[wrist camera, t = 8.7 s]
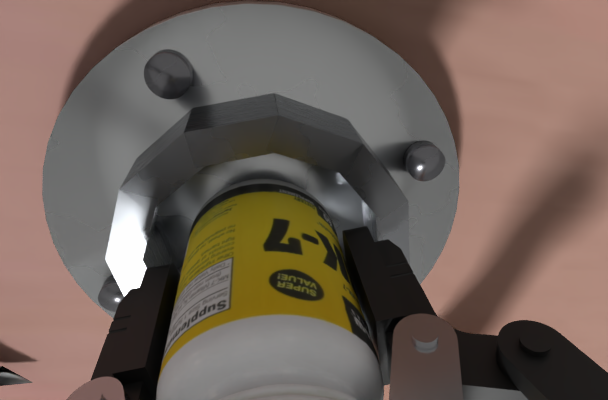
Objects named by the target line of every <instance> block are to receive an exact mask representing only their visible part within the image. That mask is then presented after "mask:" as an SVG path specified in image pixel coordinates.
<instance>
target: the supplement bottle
mask: <svg viewBox="0 0 608 400" xmlns="http://www.w3.org/2000/svg"><path fill="white" fill-rule="evenodd" d="M383 396H384V384H383V377H382V372H381V369H380V364H379V360H378V356H377V353H376V350H375V348H374V345H373V342H372V340H371V337H370V334H369V329H368V326H367V323H366V321H365V318H364V315H363V312H362V309H361V307H360V304H359V301H358V297H357V294H356V291H355V287H354V285H353V281H352V278H351V275H350V273H349V270H348V267H347V264H346V261H345V258H344V255H343V252H342V249H341V246H340V244H339V240H338V236H337V233H336V230H335V227H334V225H333V222H332V220H331V218H330V215H329V214H328V212H327V210H326V209H325V207H324V206H323V205H322V204H321V203H320V201H319V200H318V199H316V198H315V197H314V196H313V195H312V194H310V193H309V192H307V191H306V190H304V189H302V188H300V187H298V186H296V185H294V184H291V183H288V182H284V181H281V180H275V179H252V180H247V181H242V182H239V183H236V184H233V185H231V186H228V187H226V188H224V189H223V190H221V191H219V192H218V193H216V194H215V195H214V196H212V197H211V198H210V199H209V200H208V201H207V202H206V203H205V204H204V205H203V206H202V208H201V209H200V210H199V212H198V213H197V215H196V217H195V219H194V221H193V224H192V226H191V230H190V234H189V239H188V244H187V248H186V252H185V257H184V261H183V267H182V271H181V276H180V281H179V285H178V290H177V295H176V299H175V304H174V309H173V313H172V319H171V323H170V328H169V332H168V337H167V342H166V347H165V352H164V356H163V360H162V365H161V371H160V375H159V379H158V385H157V393H156V400H383Z"/></svg>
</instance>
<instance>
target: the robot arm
mask: <svg viewBox="0 0 608 400" xmlns="http://www.w3.org/2000/svg"><path fill="white" fill-rule="evenodd" d="M342 235H343V243H344V252H345V260H346V264H347V267H348V270H349V273H350V275H351V278H352V281H353V285H354V287H355V291H356V294H357V297H358V301H359V304H360V307H361V309H362V312H363V315H364V318H365V321H366V323H367V326H368V329H369V334H370V337H371V340H372V342H373V345H374V348H375V350H376V353H377V356H378V360H379V364H380V369H381V372H382V377H383V384H384V385H388V384H390V392H389V400H608V373H607V372H606V371H605V370H604V369H602V368H601V367H600V366H599V365H598V364H596V363H595V362H594V361H593V360H592V359H590V358H589V357H588V356H587V355H586V354H584V353H583V352H582V351H581V350H579V349H578V348H577V347H576V346H575V345H573V344H572V343H571V342H570V341H569V340H567V339H566V338H565V337H564V336H563V335H561V334H560V333H559V332H557V331H556V330H555V329H553V328H551V327H549V326H547V325H545V324H542V323H539V322H535V321H528V320H519V321H514V322H511V323H508V324H507V325H505V326H504V327H503V328H502V329H501V330H500V332H499V335H498V336H494V335H481V334H470V333H465V332H461V331H458V330H456V329H453V328H452V326H451V325H450V324H449V323H447V322H446V321H445V320H443V319H441V318H439V317H438V316H437V315H436V313H435V312H434V310H433V308H432V306H431V304H430V302H429V300H428V299H427V297H426V295H425V293H424V291H423V289H422V287H421V285H420V284H419V282H418V280H417V278H416V276H415V274H413V270H412V269H411V267H410V265H409V264H408V261H407V259H406V257H405V255H404V254H403V252H402V250H401V248H399V247H398V246H397V245H395V244H394V243H393V242H391V241H390V240H388V239H387V240H382V241H377V242H374V240H373V237H372V235H371V233H370V231H369V229H368V227H367V226H364V227H359V228H353V229H348V230H343V231H342ZM179 281H180V274H179V272H178V269H177V267H176V265H175V264H173V263H171V264H166V265H161V266H156V267H151V268H147V269H146V270H145V273H144V276H143V279H142V282H141V285H140V287H139V288H134V289H131V290H130V291H129V292H128V293H127V294H126V296H125V297H124V298H123V299H122V300H121V302H120V303H119V305H118V307H117V310H116V313H115V315H114V318H113V319H114V321H113V322H112V324H111V326H110V329H109V334H107V337H106V340H105V343H104V345H103V348H102V351H101V353H100V356H99V359H98V362H97V364H96V367H95V370H94V372H93V375H92V378H91V381H89V382H87V383H85V384H83V385H82V386H80V387H79V388H78V389H77V390H75V391H74V392H73V393H72V394H71V395H70V396H69V397H68V398H67V400H156V393H157V385H158V379H159V375H160V371H161V365H162V360H163V356H164V352H165V347H166V342H167V337H168V332H169V328H170V323H171V319H172V313H173V309H174V304H175V299H176V295H177V290H178V285H179Z"/></svg>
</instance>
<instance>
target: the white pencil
mask: <svg viewBox="0 0 608 400" xmlns="http://www.w3.org/2000/svg"><path fill="white" fill-rule="evenodd" d="M23 383H33V382H31V381H29V380H27V379H25V378H23V377H22V376H20V375H18V374H16V373H14V372H12V371H11V370H9V369H7V368H5V367H3V366H2V367H0V386H2V385H12V384H23Z"/></svg>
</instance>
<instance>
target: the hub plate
mask: <svg viewBox="0 0 608 400" xmlns="http://www.w3.org/2000/svg"><path fill="white" fill-rule="evenodd" d="M252 179H275V180H281V181H284V182H288V183H291V184H294V185H296V186H298V187H300V188H302V189H304V190H306V191H307V192H309V193H310V194H312V195H313V196H314V197H315V198H316V199H318V200H319V201H320V203H321V204H322V205H323V206H324V207H325V209H326V210H327V212H328V214H329V215H330V218H331V220H332V222H333V225H334V227H335V230H336V233H337V236H338V240H339V244H340V246H341V249H342V252H343V255H344V258H345V252H344V243H343V235H342V231H343V230H348V229H353V228H359V227H364V226H367V227H368V229H369V231H370V233H371V235H372V237H373V240H374V242H377V241H382V240H387V239H388V240H390V241H391V242H393V243H394V244H395V245H397V246H398V247H399V248H401V250H402V252H403V254H404V255H405V257H406V259H407V261H408V264H409V265H410V267H411V269H412V270H413V274H415V276H416V278H417V280H418V282H419V284H421V283H422V281H423V280H424V279H425V277H426V276H427V275H428V273H429V272H430V271H431V269H432V268H433V266H434V264H435V263H436V261H437V259H438V257H439V256H440V254H441V252H442V250H443V248H444V246H445V243H446V241H447V239H448V236H449V234H450V231H451V228H452V224H453V221H454V217H455V213H456V209H457V201H458V193H459V164H458V158H457V153H456V147H455V142H454V139H453V136H452V133H451V130H450V127H449V124H448V121H447V118H446V117H445V115H444V113H443V111H442V109H441V107H440V105H439V103H438V101H437V99H436V98H435V96H434V94H433V93H432V92H431V90H430V89H429V88H428V86H427V85H426V84H425V82H424V81H423V80H422V78H421V77H420V76H419V74H418V73H417V72H416V71H415V70H414V69H413V68H412V67H410V66H409V65H408V64H407V63H406V62H405V61H404V60H403V59H402V58H401V57H400V56H399V55H398V54H397V53H396V52H394V51H393V50H391V49H390V48H389V47H387V46H386V45H384V44H383V43H382V42H380V41H379V40H377V39H376V38H375V37H373V36H372V35H370V34H368V33H367V32H365V31H364V30H362V29H360V28H358V27H356V26H354V25H352V24H350V23H348V22H346V21H344V20H342V19H340V18H338V17H336V16H333V15H330V14H327V13H324V12H321V11H318V10H315V9H312V8H309V7H305V6H299V5H294V4H289V3H283V2H278V1H254V0H243V1H233V2H224V3H214V4H210V5H206V6H202V7H198V8H194V9H190V10H186V11H183V12H180V13H178V14H176V15H173V16H171V17H169V18H166V19H164V20H161V21H159V22H157V23H154V24H153V25H151V26H149V27H148V28H146V29H144V30H143V31H141V32H140V33H138V34H136V35H135V36H133V37H131V38H130V39H128V40H127V41H125V42H124V43H122V44H121V45H119V46H118V47H117V48H115V49H114V50H113V51H112V52H111V53H109V54H108V55H107V56H106V57H105V58H104V59H102V60H101V61H100V62H99V63H98V64H97V65H95V66H94V67H93V68H92V69H91V70H90V72H89V73H88V74H87V75H86V76H85V78H84V79H83V80H82V81H81V82H80V83H79V85H78V86H77V87H76V88H75V89H74V91H73V92H72V94H71V95H70V97H69V99H68V100H67V102H66V104H65V105H64V107H63V109H62V111H61V112H60V114H59V116H58V118H57V120H56V123H55V126H54V128H53V131H52V134H51V136H50V139H49V141H48V145H47V151H46V156H45V161H44V166H43V192H42V195H43V202H44V209H45V215H46V221H47V224H48V227H49V230H50V233H51V236H52V240H53V243H54V245H55V247H56V249H57V251H58V253H59V255H60V257H61V259H62V261H63V263H64V265H65V266H66V268H67V269H68V271H69V272H70V274H71V275H72V276H73V278H74V279H75V281H76V282H77V284H78V285H79V286H80V287H81V288H82V289H83V290H84V291H85V293H86V294H87V295H88V296H89V297H90V298H91V299H92V300H93V301H94V302H95V303H96V304H97V305H98V306H99V307H101V308H102V309H103V310H104V311H105V312H106V313H107V314H109V315H110V316H111V317H113V318H114V315H115V313H116V310H117V307H118V305H119V303H120V302H121V300H122V299H123V298H124V297H125V296H126V294H127V293H128V292H129V291H130V290H131V289H134V288H139V287H140V285H141V282H142V279H143V276H144V273H145V270H146V269H147V268H151V267H156V266H161V265H166V264H171V263H173V264H175V265H176V267H177V269H178V272H179V274H180V276H181V271H182V267H183V261H184V257H185V252H186V248H187V244H188V239H189V234H190V230H191V226H192V224H193V221H194V219H195V217H196V215H197V213H198V212H199V210H200V209H201V208H202V206H203V205H204V204H205V203H206V202H207V201H208V200H209V199H210V198H211V197H212V196H214V195H215V194H216V193H218V192H219V191H221V190H223V189H224V188H226V187H228V186H231V185H233V184H236V183H239V182H242V181H247V180H252ZM345 261H346V260H345Z"/></svg>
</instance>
